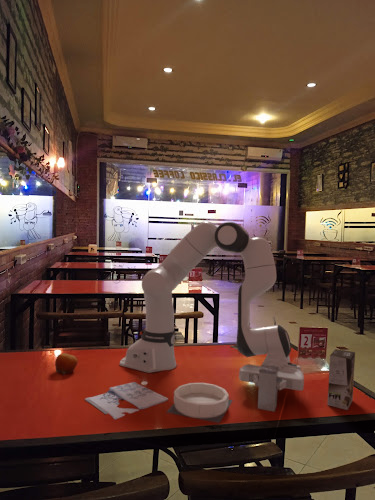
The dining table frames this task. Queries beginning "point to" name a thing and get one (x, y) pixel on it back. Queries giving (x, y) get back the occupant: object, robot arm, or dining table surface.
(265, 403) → the tin
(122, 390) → the printed paper sheets
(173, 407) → the mat
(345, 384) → the coffee box
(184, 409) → the bowl
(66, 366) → the fruit
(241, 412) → the dining table surface
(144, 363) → the robot arm
